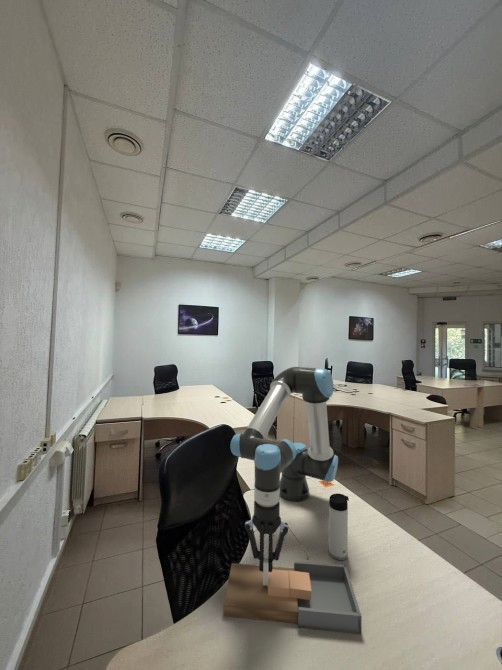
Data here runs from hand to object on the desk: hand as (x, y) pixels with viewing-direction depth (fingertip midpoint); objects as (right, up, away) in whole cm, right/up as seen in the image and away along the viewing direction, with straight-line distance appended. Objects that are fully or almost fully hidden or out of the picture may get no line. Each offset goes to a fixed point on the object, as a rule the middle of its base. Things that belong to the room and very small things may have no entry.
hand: (265, 581), depth 81 cm
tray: (+17, -4, -2) cm, 17 cm away
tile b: (+10, -1, -1) cm, 10 cm away
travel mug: (+26, -5, +16) cm, 31 cm away
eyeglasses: (+5, -5, +17) cm, 19 cm away
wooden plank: (-1, -4, 0) cm, 4 cm away
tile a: (+4, -1, -1) cm, 4 cm away
